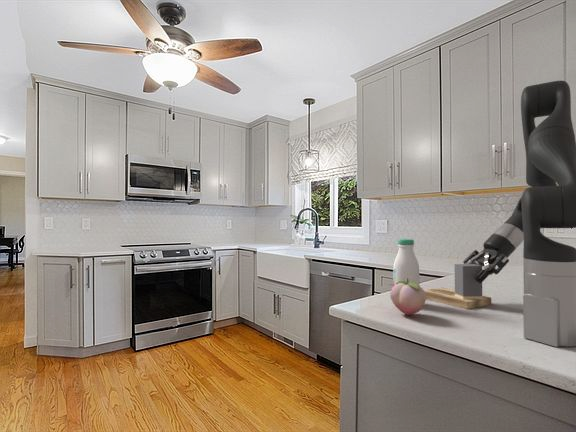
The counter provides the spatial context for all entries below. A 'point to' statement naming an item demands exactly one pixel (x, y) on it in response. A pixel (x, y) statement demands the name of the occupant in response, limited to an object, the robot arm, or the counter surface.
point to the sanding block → (467, 281)
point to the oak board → (455, 298)
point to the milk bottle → (406, 263)
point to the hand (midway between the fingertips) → (468, 278)
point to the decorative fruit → (408, 297)
